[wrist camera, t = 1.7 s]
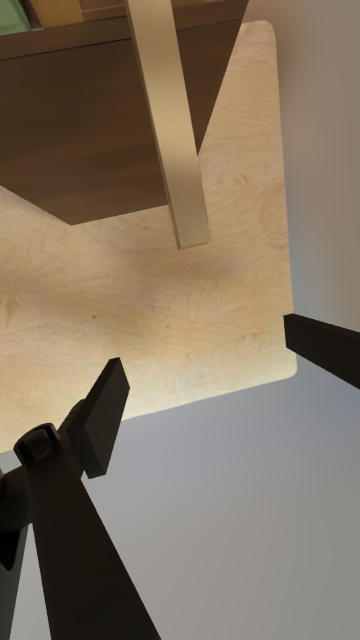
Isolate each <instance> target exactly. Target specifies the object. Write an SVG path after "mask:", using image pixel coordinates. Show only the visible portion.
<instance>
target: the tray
mask: <svg viewBox="0 0 360 640" xmlns="http://www.w3.org/2000/svg"><path fill="white" fill-rule="evenodd" d="M26 31H31V28H30V25H29V22H28V19H27V16H26V13H25V10H24V6H23V3H22V0H0V36H1V35H7V34H14V33H20V32H26Z"/></svg>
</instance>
